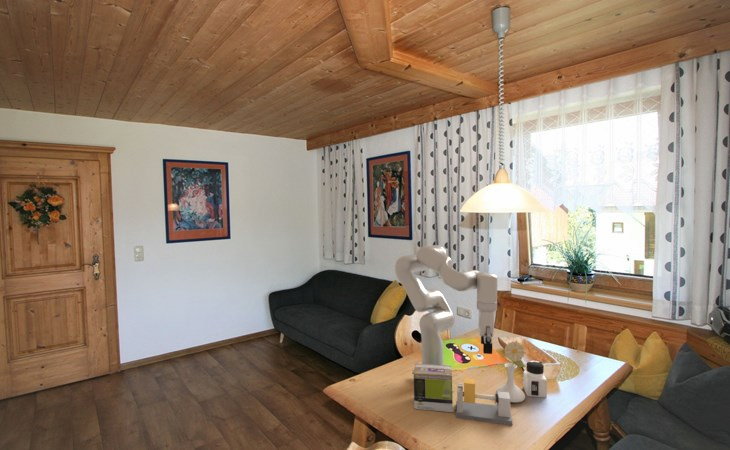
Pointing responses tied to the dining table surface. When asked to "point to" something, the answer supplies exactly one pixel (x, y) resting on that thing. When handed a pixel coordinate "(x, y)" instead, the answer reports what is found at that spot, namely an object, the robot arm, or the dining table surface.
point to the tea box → (433, 387)
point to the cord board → (484, 408)
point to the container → (535, 380)
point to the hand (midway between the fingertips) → (486, 348)
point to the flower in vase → (513, 353)
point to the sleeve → (469, 390)
